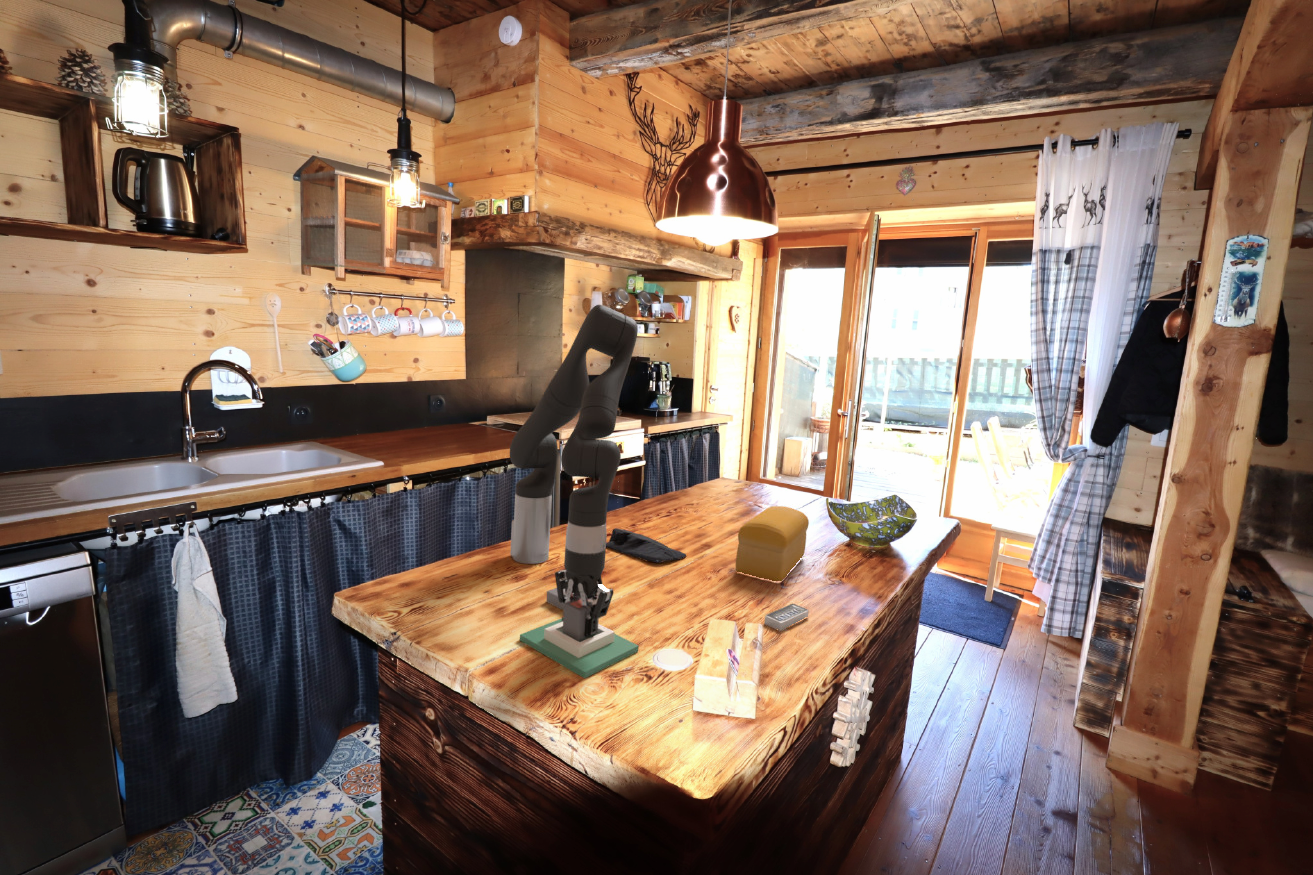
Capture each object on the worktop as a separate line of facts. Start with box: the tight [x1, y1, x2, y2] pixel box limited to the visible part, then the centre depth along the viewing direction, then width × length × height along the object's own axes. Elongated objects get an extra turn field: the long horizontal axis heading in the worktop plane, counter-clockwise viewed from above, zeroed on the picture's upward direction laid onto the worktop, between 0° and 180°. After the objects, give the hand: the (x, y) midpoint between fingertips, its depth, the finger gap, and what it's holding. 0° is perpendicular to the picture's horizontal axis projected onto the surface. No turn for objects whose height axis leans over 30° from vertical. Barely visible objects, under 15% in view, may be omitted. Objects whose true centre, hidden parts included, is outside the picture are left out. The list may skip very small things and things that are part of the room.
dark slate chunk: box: [606, 527, 687, 564], centre depth 174 cm, size 15×22×5 cm
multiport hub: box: [764, 603, 810, 632], centre depth 137 cm, size 4×11×2 cm, turn 134°
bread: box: [735, 505, 810, 581], centre depth 170 cm, size 24×13×15 cm, turn 153°
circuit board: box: [519, 616, 640, 679], centre depth 119 cm, size 18×14×3 cm
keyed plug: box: [562, 598, 600, 641], centre depth 118 cm, size 4×6×6 cm
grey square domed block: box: [545, 587, 593, 611], centre depth 137 cm, size 8×8×3 cm
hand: (580, 630), depth 118 cm, fingers closed on keyed plug, 4 cm apart
